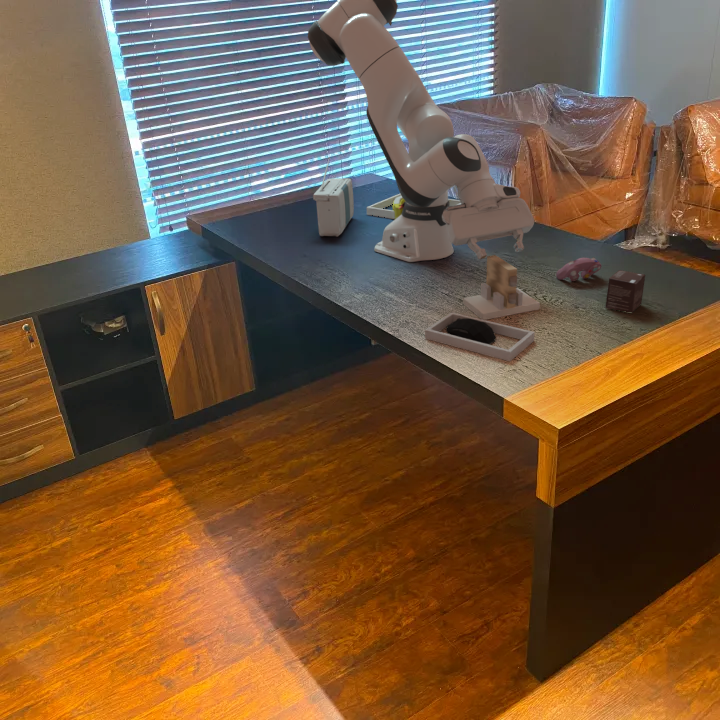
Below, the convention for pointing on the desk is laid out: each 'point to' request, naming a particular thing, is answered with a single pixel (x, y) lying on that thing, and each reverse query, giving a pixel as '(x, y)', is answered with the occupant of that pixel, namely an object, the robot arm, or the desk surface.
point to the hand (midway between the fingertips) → (501, 254)
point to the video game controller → (579, 269)
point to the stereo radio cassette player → (334, 205)
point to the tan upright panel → (502, 279)
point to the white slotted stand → (498, 303)
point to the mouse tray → (479, 347)
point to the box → (625, 291)
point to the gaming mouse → (472, 330)
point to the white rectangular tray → (379, 211)
